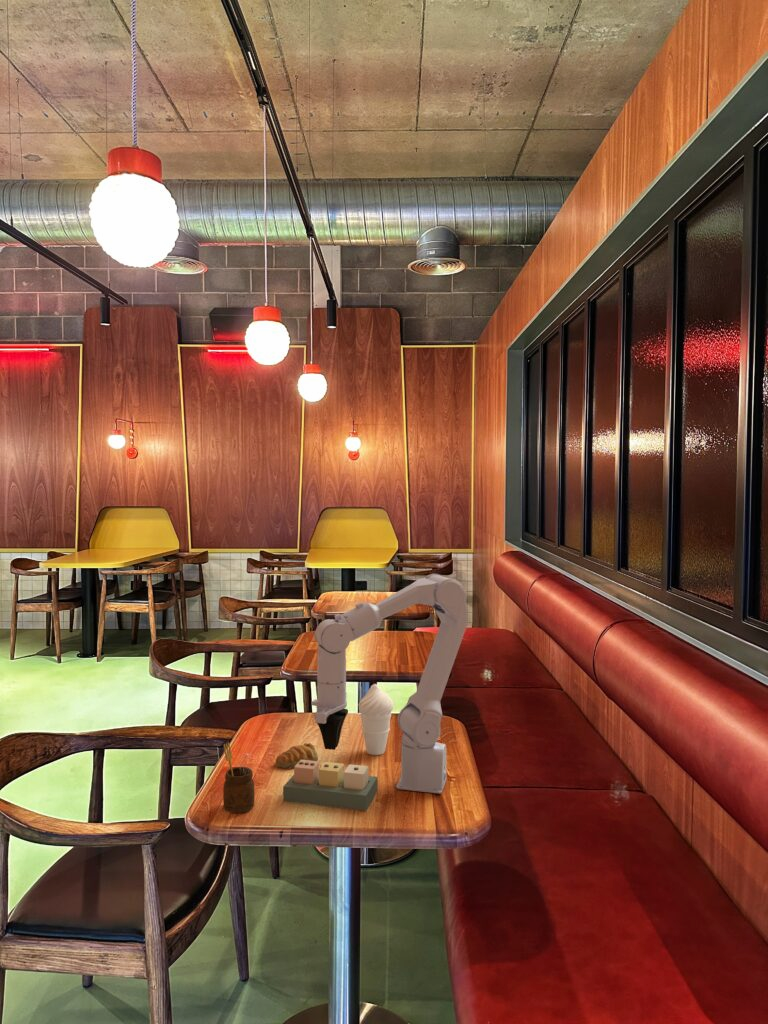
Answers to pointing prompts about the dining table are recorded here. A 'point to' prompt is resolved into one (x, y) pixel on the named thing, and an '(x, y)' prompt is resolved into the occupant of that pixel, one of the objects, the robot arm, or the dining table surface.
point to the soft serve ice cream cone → (375, 719)
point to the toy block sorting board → (330, 794)
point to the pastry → (297, 755)
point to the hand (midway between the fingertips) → (331, 747)
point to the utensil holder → (238, 787)
